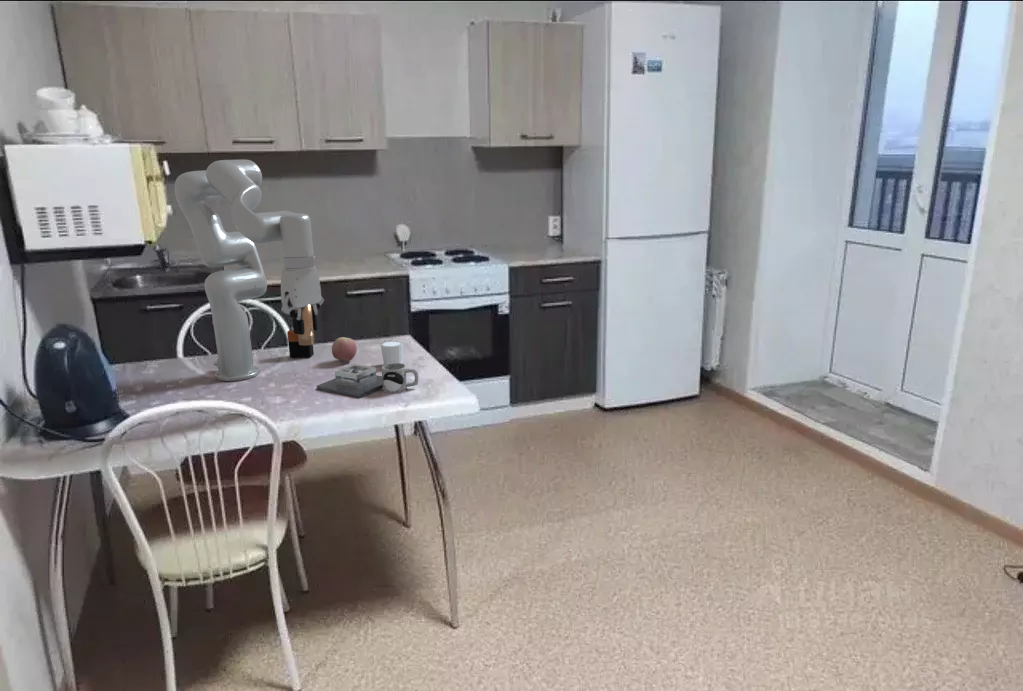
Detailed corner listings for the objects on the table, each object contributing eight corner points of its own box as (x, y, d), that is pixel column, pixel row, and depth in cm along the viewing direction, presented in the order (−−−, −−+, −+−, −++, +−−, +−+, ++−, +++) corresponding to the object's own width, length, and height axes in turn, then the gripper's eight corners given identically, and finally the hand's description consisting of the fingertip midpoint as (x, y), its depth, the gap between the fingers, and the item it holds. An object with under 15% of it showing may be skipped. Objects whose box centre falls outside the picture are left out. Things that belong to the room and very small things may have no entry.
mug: (381, 393, 195) (379, 370, 193) (384, 385, 201) (383, 363, 199) (417, 392, 195) (416, 369, 193) (420, 384, 201) (418, 362, 200)
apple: (354, 365, 220) (352, 340, 218) (330, 365, 220) (328, 341, 218) (360, 358, 228) (358, 334, 226) (336, 358, 228) (334, 334, 226)
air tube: (294, 344, 187) (290, 303, 184) (306, 340, 190) (302, 300, 187) (306, 346, 184) (302, 304, 181) (318, 342, 188) (314, 301, 185)
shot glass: (405, 361, 223) (404, 340, 221) (403, 368, 216) (401, 346, 214) (383, 362, 223) (382, 340, 221) (380, 369, 216) (379, 347, 214)
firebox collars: (316, 389, 199) (315, 372, 198) (353, 374, 212) (352, 358, 210) (360, 398, 191) (358, 381, 190) (395, 382, 204) (394, 366, 202)
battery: (310, 358, 228) (307, 328, 226) (289, 358, 228) (286, 328, 226) (314, 354, 233) (311, 325, 230) (293, 354, 233) (290, 325, 230)
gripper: (312, 257, 190) (318, 323, 195) (263, 266, 176) (270, 337, 181) (333, 259, 186) (338, 326, 191) (284, 268, 172) (291, 341, 177)
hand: (305, 331), depth 186 cm, fingers closed on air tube, 4 cm apart
